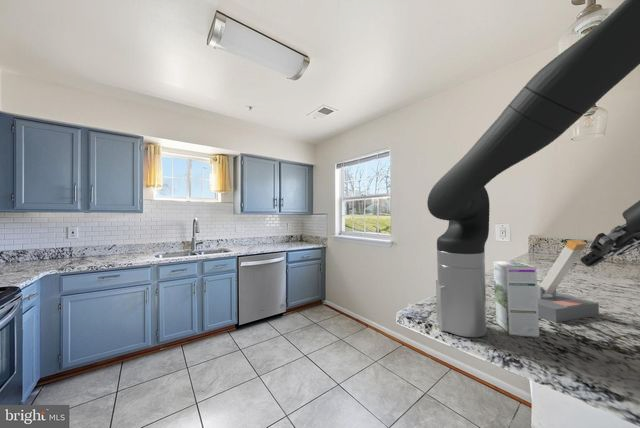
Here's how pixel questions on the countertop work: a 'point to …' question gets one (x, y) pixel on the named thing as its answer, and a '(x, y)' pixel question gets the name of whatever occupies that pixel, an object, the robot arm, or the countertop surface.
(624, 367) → the countertop surface
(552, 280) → the breaker handle
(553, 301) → the base
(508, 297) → the syrup box
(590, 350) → the countertop surface
